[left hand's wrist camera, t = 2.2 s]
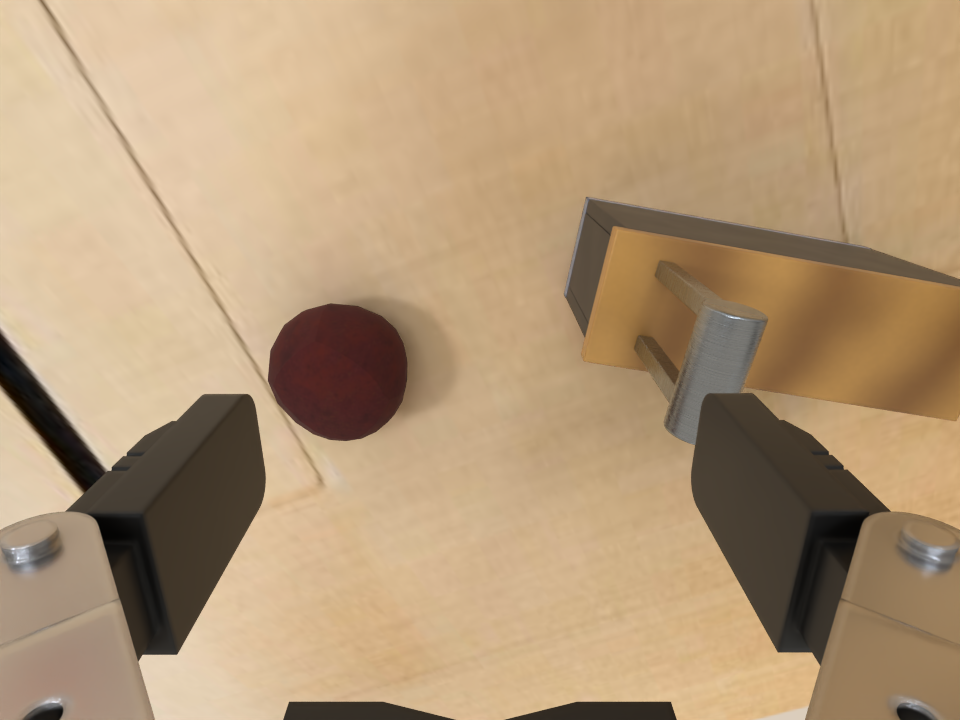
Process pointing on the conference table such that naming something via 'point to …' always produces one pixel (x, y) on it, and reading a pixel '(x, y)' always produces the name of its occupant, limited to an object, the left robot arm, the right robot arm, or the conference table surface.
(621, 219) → the chest
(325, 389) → the dark red ball
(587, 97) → the conference table surface
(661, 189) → the conference table surface
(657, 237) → the lid
